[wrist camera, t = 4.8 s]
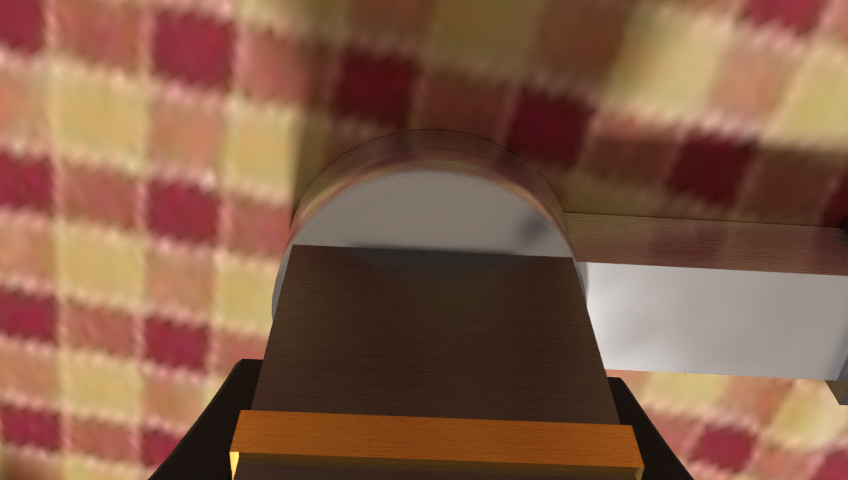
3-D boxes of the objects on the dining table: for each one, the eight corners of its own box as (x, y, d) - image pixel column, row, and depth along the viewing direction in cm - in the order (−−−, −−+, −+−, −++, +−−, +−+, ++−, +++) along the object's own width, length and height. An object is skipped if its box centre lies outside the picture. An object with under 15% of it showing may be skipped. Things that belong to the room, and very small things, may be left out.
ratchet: (1168, 171, 16) (1463, 349, 11) (1028, 394, 19) (1213, 602, 15) (284, 121, 15) (222, 285, 11) (293, 357, 19) (248, 560, 14)
